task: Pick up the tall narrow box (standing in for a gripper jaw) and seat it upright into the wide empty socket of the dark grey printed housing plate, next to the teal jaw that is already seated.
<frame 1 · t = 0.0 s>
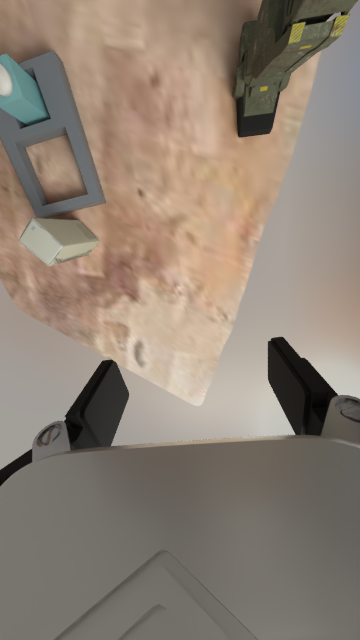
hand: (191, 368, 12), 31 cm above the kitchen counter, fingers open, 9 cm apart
box: (85, 238, 38), on the kitchen counter
housing: (52, 151, 32), on the kitchen counter
mechanical leg: (257, 80, 28), on the kitchen counter
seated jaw: (36, 107, 30), resting in housing
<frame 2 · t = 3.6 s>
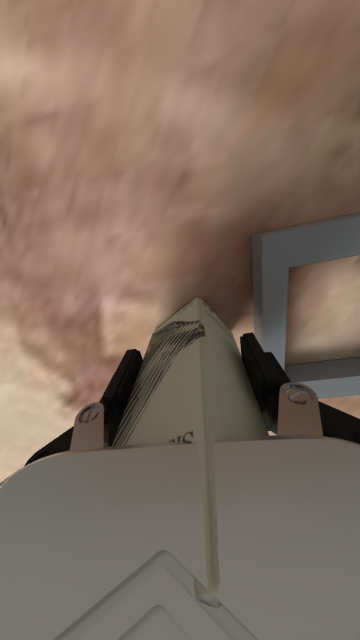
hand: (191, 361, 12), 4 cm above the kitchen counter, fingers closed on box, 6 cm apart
box: (190, 332, 16), on the kitchen counter, touching gripper
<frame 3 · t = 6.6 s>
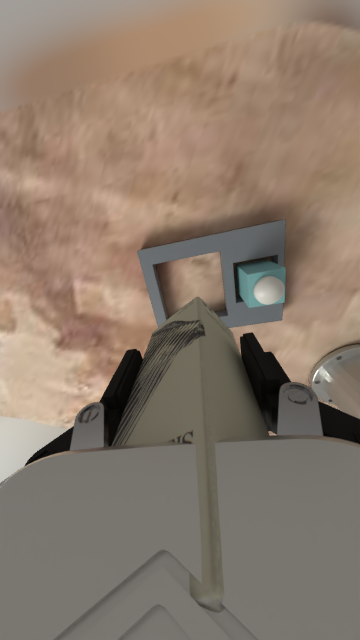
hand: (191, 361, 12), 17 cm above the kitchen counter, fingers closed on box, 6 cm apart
box: (190, 331, 16), point 13 cm above the kitchen counter, touching gripper
housing: (212, 283, 27), on the kitchen counter
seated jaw: (251, 276, 27), resting in housing
when the fingers open (4 cm above the kitchen counter, at t = 9.6 s): box stays where it is, resting in housing.
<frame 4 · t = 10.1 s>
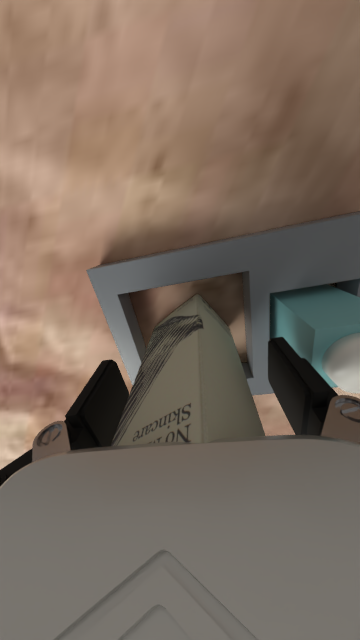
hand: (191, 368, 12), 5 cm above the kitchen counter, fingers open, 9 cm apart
box: (190, 327, 17), resting in housing
housing: (226, 322, 16), on the kitchen counter
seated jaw: (295, 311, 15), resting in housing
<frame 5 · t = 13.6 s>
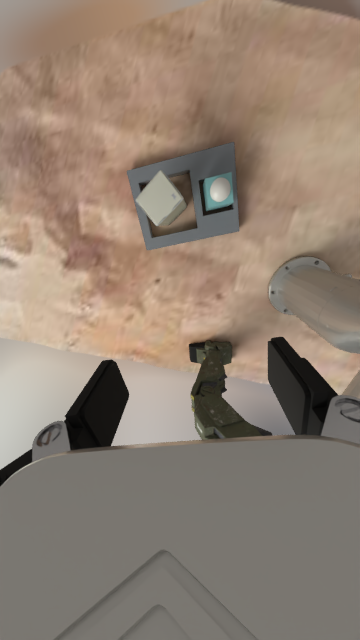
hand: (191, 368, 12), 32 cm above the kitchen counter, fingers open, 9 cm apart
box: (169, 208, 36), resting in housing
housing: (185, 203, 35), on the kitchen counter
mechanical leg: (212, 350, 50), on the kitchen counter
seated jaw: (215, 196, 35), resting in housing
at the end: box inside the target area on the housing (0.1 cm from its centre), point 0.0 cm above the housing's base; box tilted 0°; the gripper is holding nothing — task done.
